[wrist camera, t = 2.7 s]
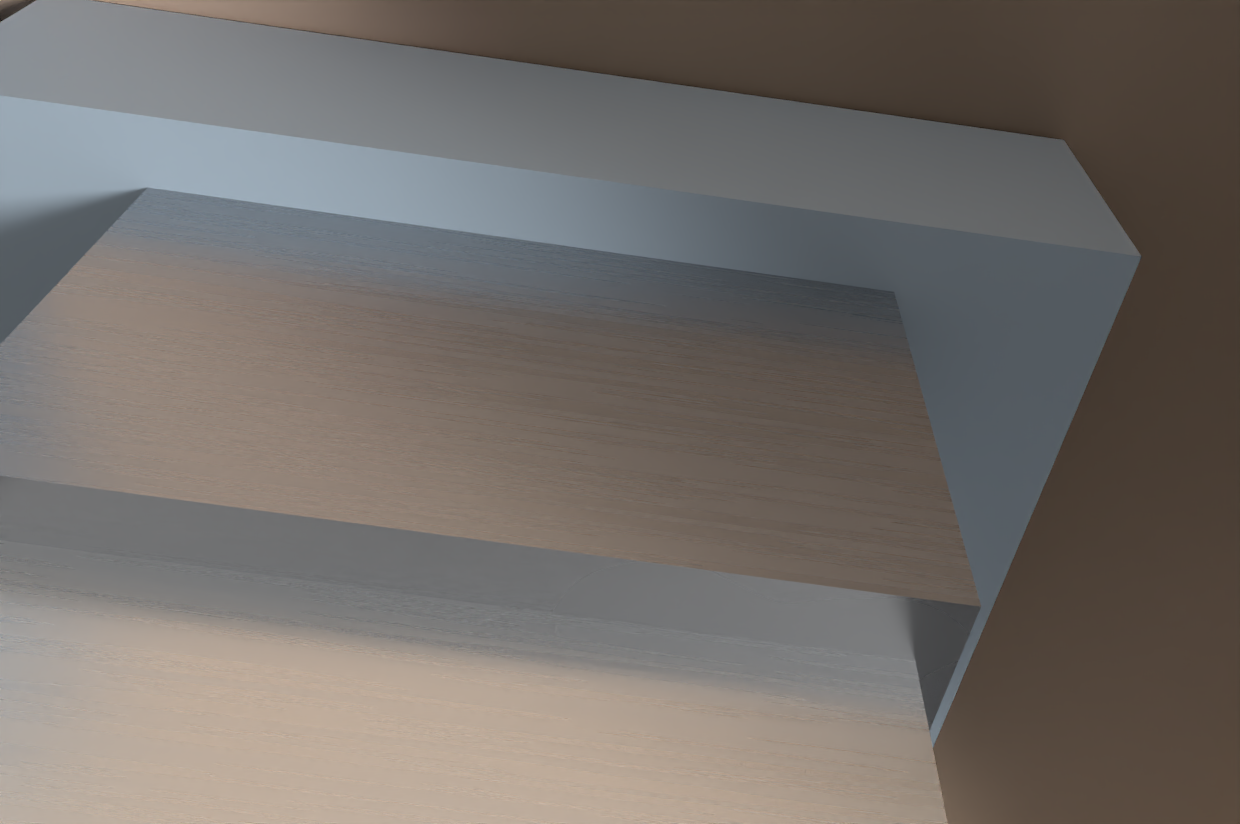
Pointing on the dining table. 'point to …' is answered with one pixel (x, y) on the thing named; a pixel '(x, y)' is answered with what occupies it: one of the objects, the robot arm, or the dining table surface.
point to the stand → (594, 200)
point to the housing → (463, 535)
